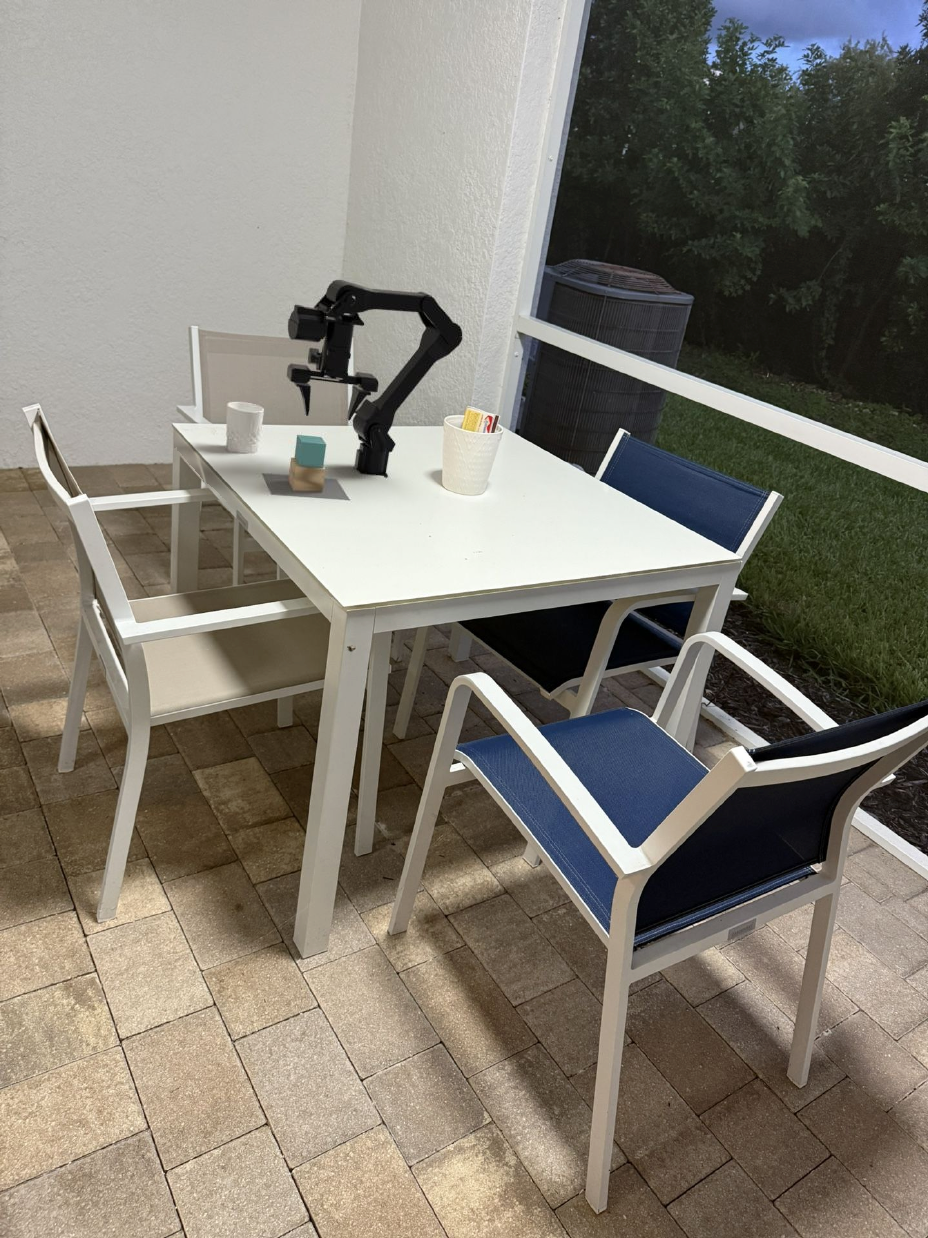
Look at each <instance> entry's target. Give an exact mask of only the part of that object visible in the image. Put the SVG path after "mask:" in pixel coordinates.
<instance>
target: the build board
mask: <svg viewBox="0 0 928 1238" xmlns="http://www.w3.org/2000/svg"><path fill="white" fill-rule="evenodd" d="M261 474H262V477H263V480H264V481H265V483H266V486H267V488H268V490H269V492H270V495H273V496H274V495H275V496H286V497H299V498H313V499H314V498H315V499H329V500H339V501H340V500H341V501H351V500H350V498H349V496H348V495H347V493H346V492H345V490H344V489H343V487H342V485H341V483H340V482H339V481H338V480H337V478H327V477H324V485H323V492H310V491H297V490H293V488H292V486H291V485H290V483H289V481H288V480H289V474H288V475H287V474H277V473H264V472H262V473H261Z"/></svg>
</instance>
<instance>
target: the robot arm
mask: <svg viewBox="0 0 928 1238" xmlns="http://www.w3.org/2000/svg"><path fill="white" fill-rule="evenodd" d="M372 310H380V311H392V312H393V311H395V312H409V313H417V314H418V317H419V320H421V323H422V324H423V326H424V327H425V329H424V330H423V332H422V334H421V339H420V342H419V347H418V348H417V349H416V351H415V352H414V354H412V356H411V357H410V359H408V361H407V362H406V363H405V364H404V366H402V369H401V370H400V371H399V372H398V373H397V375H396V376H395V377H394V379H393V380H392V381H391V382H390V383H389V384H388V386H387V387H386V388H385V389H384V391H383V392H382V394H380V396H379V397H378V398H376V399H375V400H373V401H370V400H369V399H368V398H366V397H367V396H371V395H372V393H378V390H379V380H378V379H377V377H376V376H374V375H373V374H372V373H370V372H369V373H368V372H360V371H356V372H355V374H354V375H350V374H349V366H350V360H351V358H352V353H351V351H352V345H353V344H352V343H353V337H354V336H353V335H354V329H355V326H359V327H360V326H361V327H363V326H365V322H364V321H363V320H362V318H361V317H360V315H359V314H360V313H365V312H368V311H372ZM287 332H288V337H289V339H290V340H292V341H302V342H309V343H320V342H321V340H323V345H322V348H321V351H320V349H319V348H316V347H315V348H313V347H310V348H308V356H307V364H309V365H314V366H315V370H313V369H312V370H311V369H310V368H309V366H308V365H306V364H299V363H298V364H297V363H290V364H288V365H287V370H286V377H287V378H288V380H289V381H290V382H292V383H294V385H295V387H297V388H298V389H299V391H300V394H301V398H302V403H303V409H304V414H305V416H306V417H308V416H309V414H310V407H311V406H310V404H311V391H312V386H311V384H310V383H309V382H311V381H320V382H327V383H335V384H336V383H337V384H344V385H352V388H351V398H350V401H349V406H348V410H347V418H346V419H347V421H351V419H352V418H353V419H352V428H353V430H354V432H355V433H356V434H357V438H358V440H359V441H360V443H359V448H358V449H356V452H355V453H356V454H355V460H354V468H356V470H357V471H358V472H359V474H361V475H370V476H378V477H379V476H382V477H384V478H389V474H388V473H387V469H388V464H389V463H388V462H389V458H390V453H392V452H393V450H394V448H395V447H396V445H397V444H396V442H395V440H393V438H392V436H391V435H390V434H389V432H390V430H391V428H392V427H393V423H394V420H395V419H394V418H395V415H396V412H397V411H398V410H399V408H400V407H401V406H402V405H403V404H404V402H405V401H406V400H407V399H408V397H409V396H410V395H411V393H412V392H413V391H414V390H415V388H416V387H417V386H418V385H419V384H420V382H421V381H422V380H423V378H424V377H425V376H426V375H427V373H428V372H429V371H430V370H431V369H432V367H433V366H434V365H435V364H436V363H437V362H438V361H440V360H442V359H443V358H446V357H448V356H449V355H451V353H452V352H453V351H455V349H457V348H458V347H459V346H460V345H461V343H462V341H463V330H462V328H461V326H460V325H459V324H458V323H456V322H455V321H453V320H452V319H451V317H450V316H449V315H448V314H447V313H446V312H445V310H444V309H443V308H442V307H441V306H440V305H439V303H438V302H437V300H436V299H435V297H434V296H433V295H432V294H429V293H426V292H424V291H418V292H415V291H414V292H413V291H403V290H391V289H381V288H379V289H377V288H370V287H365V286H362V285H359V284H356V283H353V282H351V281H350V282H349V281H346V280H342V279H335V280H333V281H332V282H331V283H330V284H329V285H328V287H327V289H326V293H325V294H324V295H323V296H322V297H321V298H320V299H319V300H318V302H316V304H315V305H314V306H313V307H309V306H304V305H301V304H294V305H293V311H291V313H290V316H289V318H288V320H287ZM354 414H355V415H354ZM353 416H354V417H353Z"/></svg>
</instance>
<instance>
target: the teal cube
mask: <svg viewBox="0 0 928 1238" xmlns="http://www.w3.org/2000/svg"><path fill="white" fill-rule="evenodd" d="M326 450H327V444H326V442H325V440H324V439H323V437H322V436H313V435H303V434H296V443H295V451H294V457H293V458H295V460H296V462H297V464H298V466H304V467H316V468H323V466H324V463H325V456H326Z"/></svg>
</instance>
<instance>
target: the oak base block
mask: <svg viewBox="0 0 928 1238" xmlns="http://www.w3.org/2000/svg"><path fill="white" fill-rule="evenodd" d="M288 475H289V480H288V481H289V483H290V485H291V486H292V488H293V490H297V491H310V492H323V485H324V478H326V467H325V466H324V465H323V468H316V467H304V466H298V464H297V462H296V460H295V458H294V457H290V464H289V472H288Z"/></svg>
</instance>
